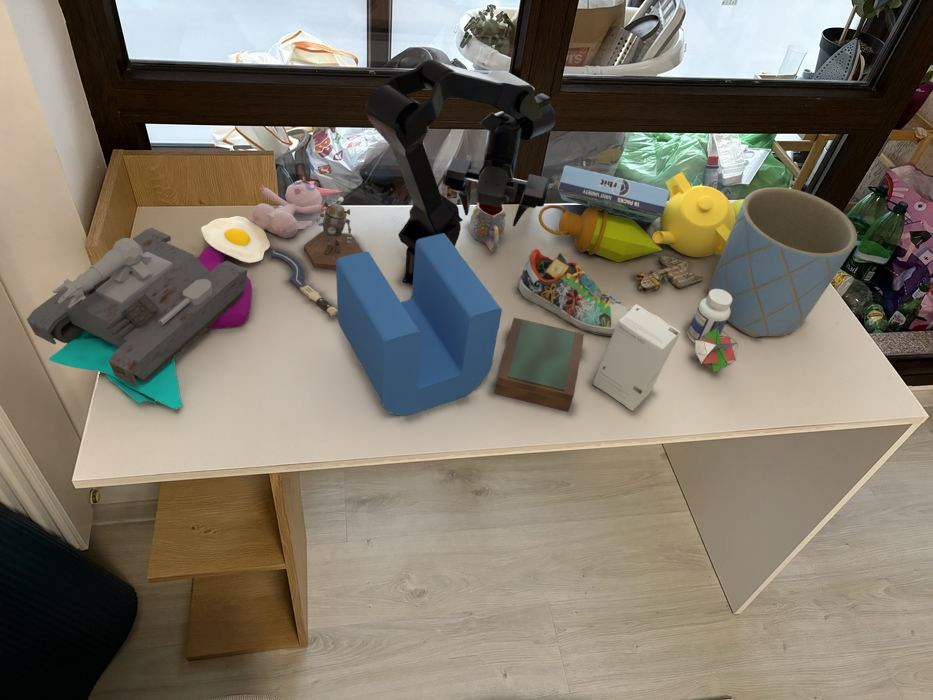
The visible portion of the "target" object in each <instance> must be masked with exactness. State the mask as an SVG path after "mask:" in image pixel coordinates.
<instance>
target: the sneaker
mask: <svg viewBox="0 0 933 700" xmlns="http://www.w3.org/2000/svg"><path fill="white" fill-rule="evenodd" d="M517 287H518V290H519V292H520V294H521V296H523V297H524V298H525V299H526V300H528V301H529V302H531V303H533V304H534V305H535V304H536V305H538V306H540V307H542V308H544V309H545V310H548V311H549V312H550V313H553V314H554V315H556V316H557V317H559V318H560V319H561V320H563V321H564V322H565V323H567V324H568V325H570V326H572V327H573V328H576V329H579V330H581V331H584V332H588V333H592V334H594V335H599V336H606V337H612V335H613V333H614V330H615V328H616V326H617V323H618V321H619V320H620V319H621V318H622V317H623V316H624V315H625V314H626V313H627V312H628V311H629V310H630V309H628V308H627V307H626V306H624V305H623V304H622V301H620V300H618V299H617V298H615V297H613V296H612V295H610V294H607V293H605V292H604V291H602V290H601V289H600V288H599V286H598V285H597V284H596V283H595V281H594V280H592V279H591V278H590V277H589V276H588V275H587V274H586V272H585V271H584V270H583V269H582V268H581V267H580V265H579V264H578V263H575V262H573V261H571V262H567V260H566V258H565V257H564V255H563V254H562V253H559V254H558V255H557V256H556V257H555V258H554V259H552V258H550V257H549V256H546V255H544V254H542V253H541V250H540V249H538V248H535V249H534V250H532V251H531V253H530V255H529V257H528V258H527V260H526V262H525V264H524V266H523V270H522V274H521V275H520V280H519V282H518V286H517Z"/></svg>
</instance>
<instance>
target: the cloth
mask: <svg viewBox="0 0 933 700" xmlns="http://www.w3.org/2000/svg"><path fill="white" fill-rule="evenodd" d="M118 348H120V347H119V346H117V345H115V344H112V343H110V342H108V341H106V340H104V339H102V338H100V337H98V336H96V335H94V334H92V333H90V332H88V331H86V330H84V331H82V332H81V333H80V334H79V335H77V336H76V337H75V338H73V339H72V340H71V341H70V342H68V343H65V345H64V346H63V347H62V348H61V349H59V350H58V351H56V352H55V353H54V354H52V355H50V356H49V358H48V361H50V362H53V363H56V364H59V365H63V366H67V367H70V368H75V369H81V370H86V371H94V372H100V373H104V374H105V375H106V377H107V378H108V380H109V381H110V382H112V383H113V384H115V385H116V386H117V387H119V389H121V390H122V391H123V392H124V393H126V394H127V395H128V396H129V397H130V398H131V399H133V400H134V401H135V402H136V403H138V404H141V403H145V402H147V401H148V402H150V403H153V404H154V403H155V402H158V403H160V404H162V405H165V406H166V407H169V408H172V409H174V410H176V409H179V408H180V407H181V406H183V401H182V399H181V397H180V389H179V381H178V376H177V373H176V369H177V368H176V361H175V357H174V358H173V359H172V360H171V361H170V362H168V363H167V364H166V365H165V366H164V367H163V368H162V369H161V370H160V371H158V372H157V373H156V374H155V375H154V376H153V377H152V378H151V379H149V380H148V381H147V382H141V381H139V380H137V379H135V380H136V382H137V386H134V385H132V384H130V383H128V382H127V381H125V380H123V379H121V378H119V377H117V376H115V375H114V373H113V370H112V368H111V366H110V363H109V360H110V358H111V357H112V355H113V354H114V353H115V351H116V350H117V349H118Z"/></svg>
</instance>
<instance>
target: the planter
mask: <svg viewBox="0 0 933 700" xmlns="http://www.w3.org/2000/svg"><path fill="white" fill-rule="evenodd" d="M743 199H744V201H743V203H742V206H741V208H740V211H739V213H738V216H737V218H736V220H735V223H734V225H733V227H732V230H731V232H730V235H729V237H728V240H727V242H726V245H725V247H724V250H723V252H722V255H721V256H720V258H719V260H718V262H717V265H716V268H715V270H714V271H713V275H712V278H711V280H710V283H709V286H708V290H707V295H708V294H709V292H710V291H711V290H713V289H722V290H724V291H726V292H728V293H729V294H730V295H731V296H732V302H731V305H730V310H731V313H730V316H729V318H728V320H727V322H728V323H730V324H731V325H732V326H734V327H735V328H737V329H738V330H740V331H741V332H743V333H744V334H746V335H748V336H749V337H752V338H759V337H764V336H765V337H766V336H767V337H768V336H769V337H778V336H779V337H780V336H785V335H788V334H792V333H793V332H796V331H797V330H798V329H800V328H801V326H802V325H803V324H804V322H805V321H806V319H807V318H808V317H809V315H810V313H811V311H812V310H813V309H814V308H815V306H816V305H817V303H818V302H819V300H820V298H822V296H823V294H824V293H825V291H826V290H827V289H828V287H829V285H830V284H831V283H832V281H833V280H834V278H835V277H836V275H837V274H838V272H839V271H840V269H841V268H842V266H843V265H844V263H845V262H846V261H847V259H848V258H849V255H851V254H850V253H851V252H852V251H853V250H854V248H855V246H856V244H857V241H858V233H857V230H856V227H855V225H854V224H853V222H852V221H851V219H850V218H849V217H848V216H847V215H846V214H845V213H844V212H842V211H841V210H840V209H839V208H837V207H836V206H834V205H833V204H832V203H830V202H828V201H826V200H825V199H822V198H821V197H819V196H816V195H814V194H811V193H808V192H806V191H802V190H798V189H794V188H787V187H764V188H759V189H756V190H753V191H751V192H750V193H749V194H747V195H746V197H745V198H743Z"/></svg>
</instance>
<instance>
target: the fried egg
mask: <svg viewBox="0 0 933 700" xmlns="http://www.w3.org/2000/svg"><path fill="white" fill-rule="evenodd" d="M200 231H201V235H202V234H203V236H204V238H205V239H204V240H205V242H206V243H207V244H209V245H211V246H212V247H214V248H215V249H217V250H219V251H221V252H223V253H225V255H227V256H229V257H232V258H234V259H236V260H238V261H241V262H244V263H248V264H250V263H257V262H259V261H262V260H263V259H264V256H265V255H264V254H265V252H266V251H267V250H268V249H269V248H270V247H271V245H270V241H269V239H268V237H267V234H266V231H265V230H264V229H262V228H261V227H259V226H258V225H256V223H255V222H252V221H250V220H249V218H247V217H244V216H239V215H235V216H231V217H220V218H215V219H213V220H212V221H210V222H208V223H207V224H205V225H202V226H201V227H200ZM203 236H202V237H203Z"/></svg>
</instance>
